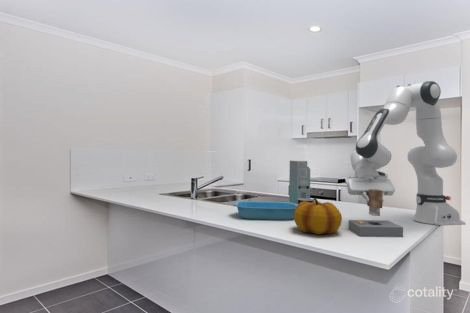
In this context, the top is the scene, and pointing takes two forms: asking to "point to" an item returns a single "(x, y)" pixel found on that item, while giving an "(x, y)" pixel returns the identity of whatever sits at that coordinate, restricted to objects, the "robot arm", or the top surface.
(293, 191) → the device
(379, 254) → the top surface
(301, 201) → the coffee mug
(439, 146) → the robot arm
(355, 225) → the socket block
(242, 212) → the casserole dish
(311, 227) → the decorative pumpkin
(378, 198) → the walnut plug
